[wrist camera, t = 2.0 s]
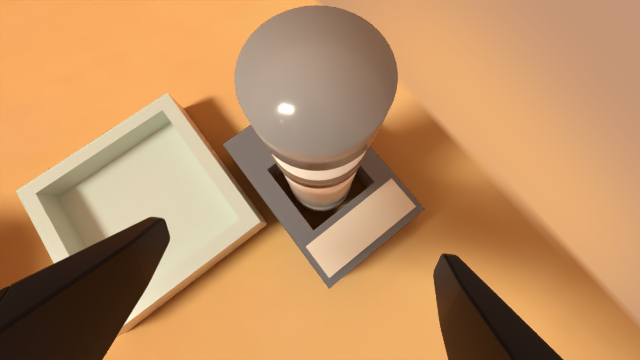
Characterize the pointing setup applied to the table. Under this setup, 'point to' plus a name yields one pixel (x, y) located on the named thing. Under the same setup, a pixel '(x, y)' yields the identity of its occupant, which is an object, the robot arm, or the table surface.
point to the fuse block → (346, 224)
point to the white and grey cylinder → (316, 96)
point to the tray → (145, 198)
